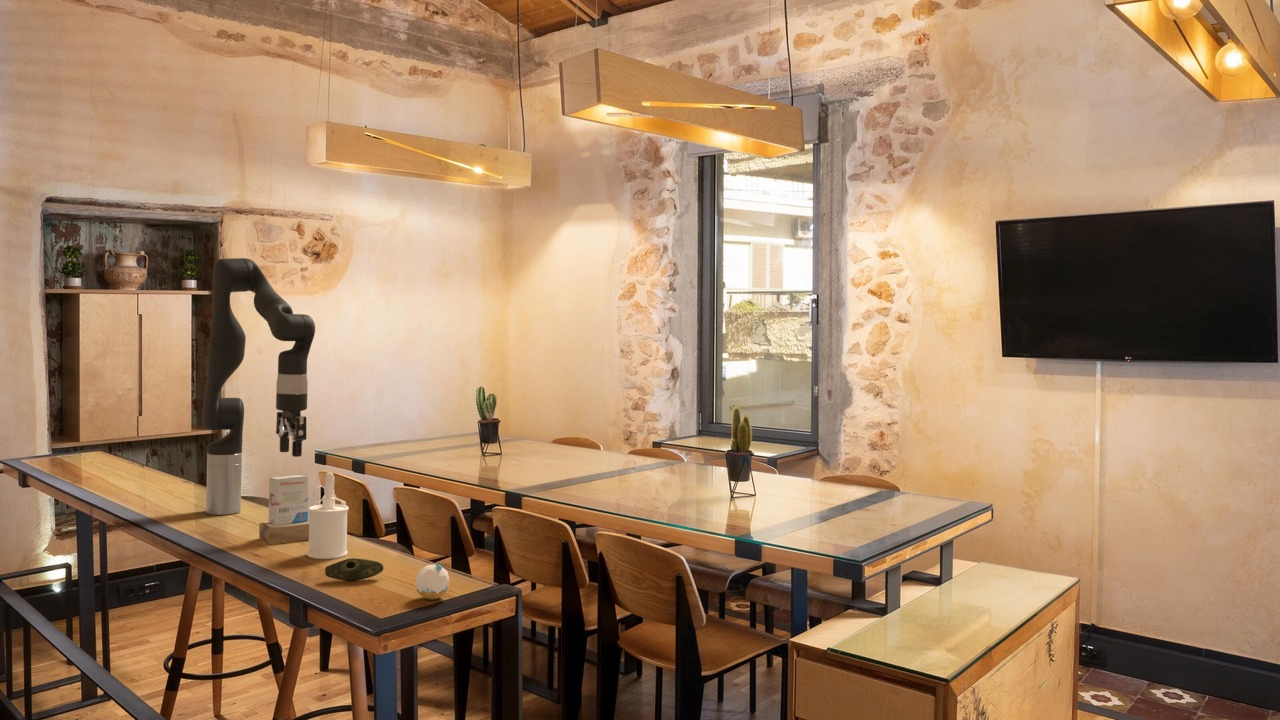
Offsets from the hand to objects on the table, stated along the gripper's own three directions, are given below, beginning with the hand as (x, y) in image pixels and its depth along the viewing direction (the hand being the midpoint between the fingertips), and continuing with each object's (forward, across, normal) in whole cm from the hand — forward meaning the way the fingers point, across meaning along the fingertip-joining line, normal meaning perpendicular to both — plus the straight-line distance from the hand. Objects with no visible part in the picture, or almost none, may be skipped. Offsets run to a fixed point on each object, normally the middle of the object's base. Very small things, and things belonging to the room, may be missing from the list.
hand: (290, 454), depth 241 cm
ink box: (+18, 0, 0) cm, 18 cm away
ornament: (+22, +68, +4) cm, 72 cm away
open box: (+22, 0, 0) cm, 22 cm away
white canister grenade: (+22, +21, +2) cm, 31 cm away
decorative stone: (+22, +46, -3) cm, 51 cm away
